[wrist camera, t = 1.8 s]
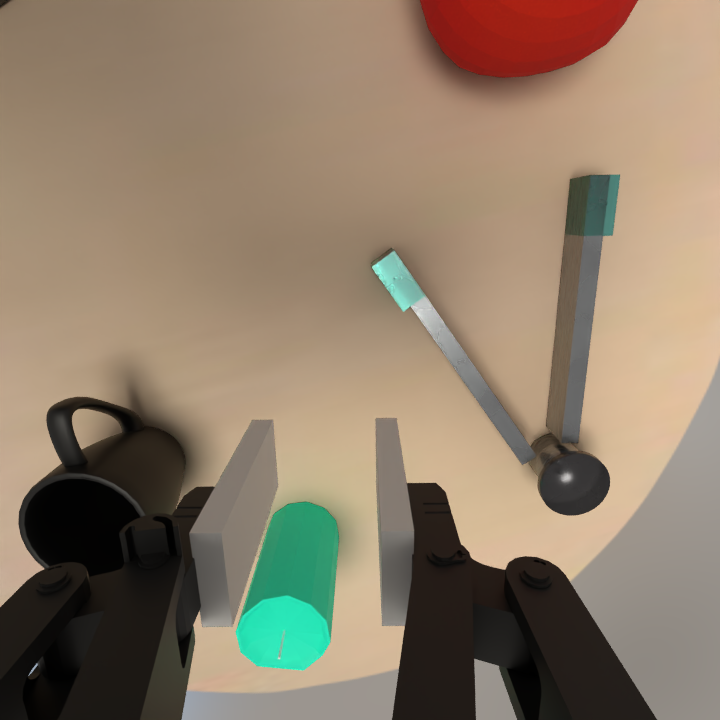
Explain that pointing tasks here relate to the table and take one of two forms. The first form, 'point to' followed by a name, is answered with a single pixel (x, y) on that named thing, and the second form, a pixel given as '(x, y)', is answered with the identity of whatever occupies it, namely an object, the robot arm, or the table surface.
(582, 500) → the tongs fixed
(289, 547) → the candle
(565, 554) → the table surface
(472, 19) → the tomato
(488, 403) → the bar
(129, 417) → the mug
